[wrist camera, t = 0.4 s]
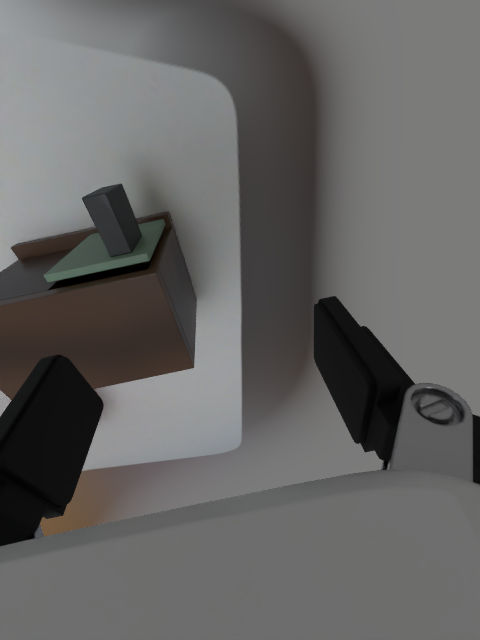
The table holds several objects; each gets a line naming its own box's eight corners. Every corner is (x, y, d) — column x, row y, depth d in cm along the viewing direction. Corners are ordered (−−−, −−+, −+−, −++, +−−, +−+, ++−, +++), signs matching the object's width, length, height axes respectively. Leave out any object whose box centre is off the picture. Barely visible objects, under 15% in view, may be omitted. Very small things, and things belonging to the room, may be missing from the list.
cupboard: (15, 244, 27) (-93, 305, 17) (169, 211, 27) (149, 254, 17) (72, 325, 33) (16, 405, 23) (196, 299, 33) (194, 368, 23)
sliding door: (67, 190, 23) (2, 216, 16) (148, 172, 23) (121, 190, 16) (93, 240, 26) (47, 282, 18) (165, 224, 26) (150, 261, 18)
